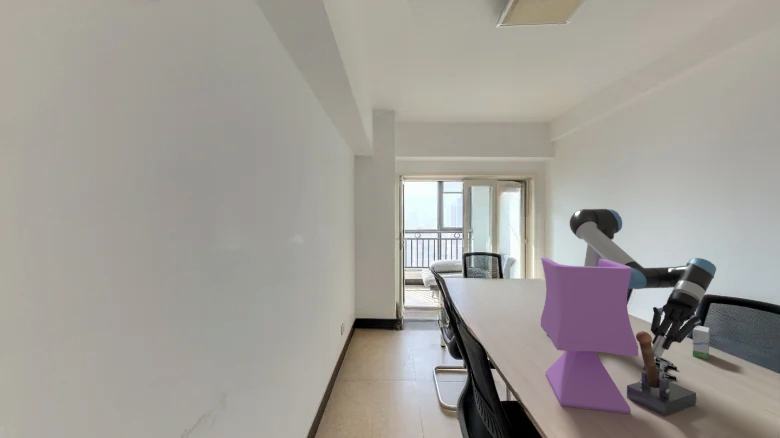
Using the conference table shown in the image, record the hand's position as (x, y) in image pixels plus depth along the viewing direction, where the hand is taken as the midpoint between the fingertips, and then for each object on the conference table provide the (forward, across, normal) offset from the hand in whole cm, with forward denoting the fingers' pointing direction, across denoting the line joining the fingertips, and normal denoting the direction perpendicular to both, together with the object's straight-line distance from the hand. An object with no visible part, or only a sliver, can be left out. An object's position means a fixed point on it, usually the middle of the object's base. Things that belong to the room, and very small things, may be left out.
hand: (655, 355), depth 103 cm
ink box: (-30, +15, -54) cm, 64 cm away
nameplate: (-6, +13, -30) cm, 34 cm away
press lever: (+7, +1, -8) cm, 11 cm away
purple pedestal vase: (+22, +14, -1) cm, 26 cm away
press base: (+9, +1, -14) cm, 17 cm away
